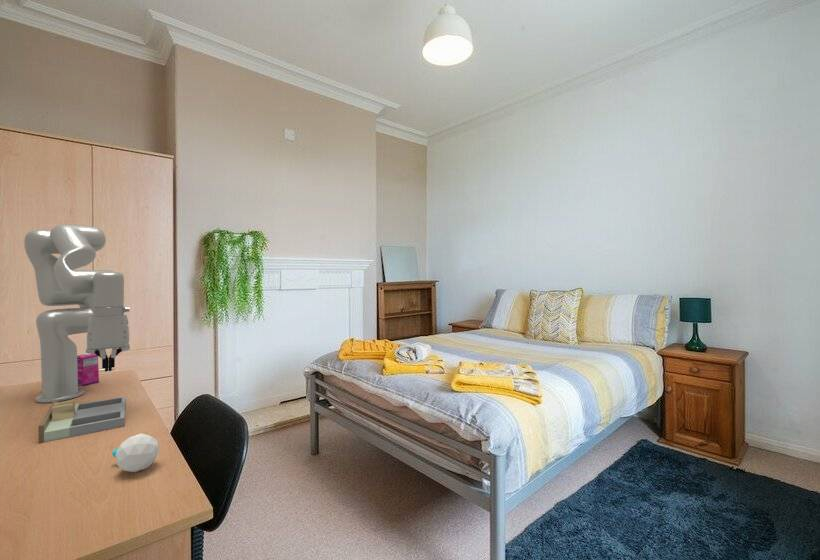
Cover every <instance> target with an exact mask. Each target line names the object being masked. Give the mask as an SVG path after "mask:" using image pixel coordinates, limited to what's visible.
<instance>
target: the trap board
mask: <svg viewBox="0 0 820 560" xmlns="http://www.w3.org/2000/svg"><path fill="white" fill-rule="evenodd" d="M126 398H127V397H126V396H119V397H113V398H108V399H101V400H95V401H88V402H82V403H75V415H74V417H73V418H70V419H64V420H59V421H53V422H52V407H53V405H54V403H59V401H53V402H51V404H50V407H49V408H48V409H47V411H46V412H45V415H44V416H43V418H42V420H41V421H40V423H39V424H38V444H39V443H46V442H51V441H56V440H61V439H66V438H70V437H71V438H73V437H76V436H81V435H86V434H91V433H97V432H101V431H106V430H112V429H116V428H117V429H118V428H123V427H125V426H126V425H125V424H126V421H125V420H126V409H127V408H126V407H127V406H126V405H127V399H126Z"/></svg>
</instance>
